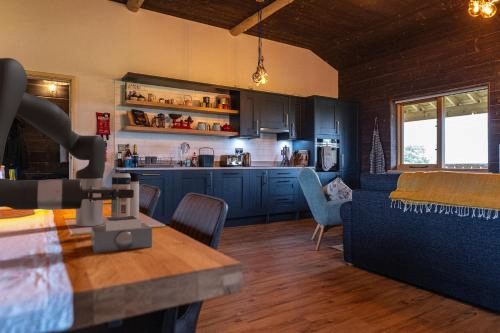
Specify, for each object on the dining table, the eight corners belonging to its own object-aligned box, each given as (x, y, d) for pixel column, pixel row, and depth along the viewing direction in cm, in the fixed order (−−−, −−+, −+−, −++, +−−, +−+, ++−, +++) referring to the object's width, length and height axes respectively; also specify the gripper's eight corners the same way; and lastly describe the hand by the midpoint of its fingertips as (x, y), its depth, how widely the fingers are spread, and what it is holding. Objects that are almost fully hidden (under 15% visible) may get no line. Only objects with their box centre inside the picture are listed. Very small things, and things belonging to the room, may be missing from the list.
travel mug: (113, 233, 108) (114, 171, 108) (126, 229, 114) (127, 171, 114) (130, 234, 106) (130, 171, 106) (142, 230, 112) (143, 171, 112)
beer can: (133, 216, 92) (134, 173, 92) (124, 219, 87) (125, 173, 87) (116, 216, 92) (117, 173, 93) (107, 218, 88) (108, 173, 88)
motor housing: (91, 245, 91) (91, 217, 91) (143, 239, 98) (144, 214, 98) (94, 254, 81) (94, 223, 81) (152, 247, 88) (152, 219, 88)
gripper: (60, 180, 77) (137, 179, 85) (60, 178, 89) (127, 178, 98) (59, 212, 77) (136, 209, 85) (60, 206, 89) (127, 204, 97)
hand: (131, 193), depth 91 cm, fingers closed on beer can, 4 cm apart
